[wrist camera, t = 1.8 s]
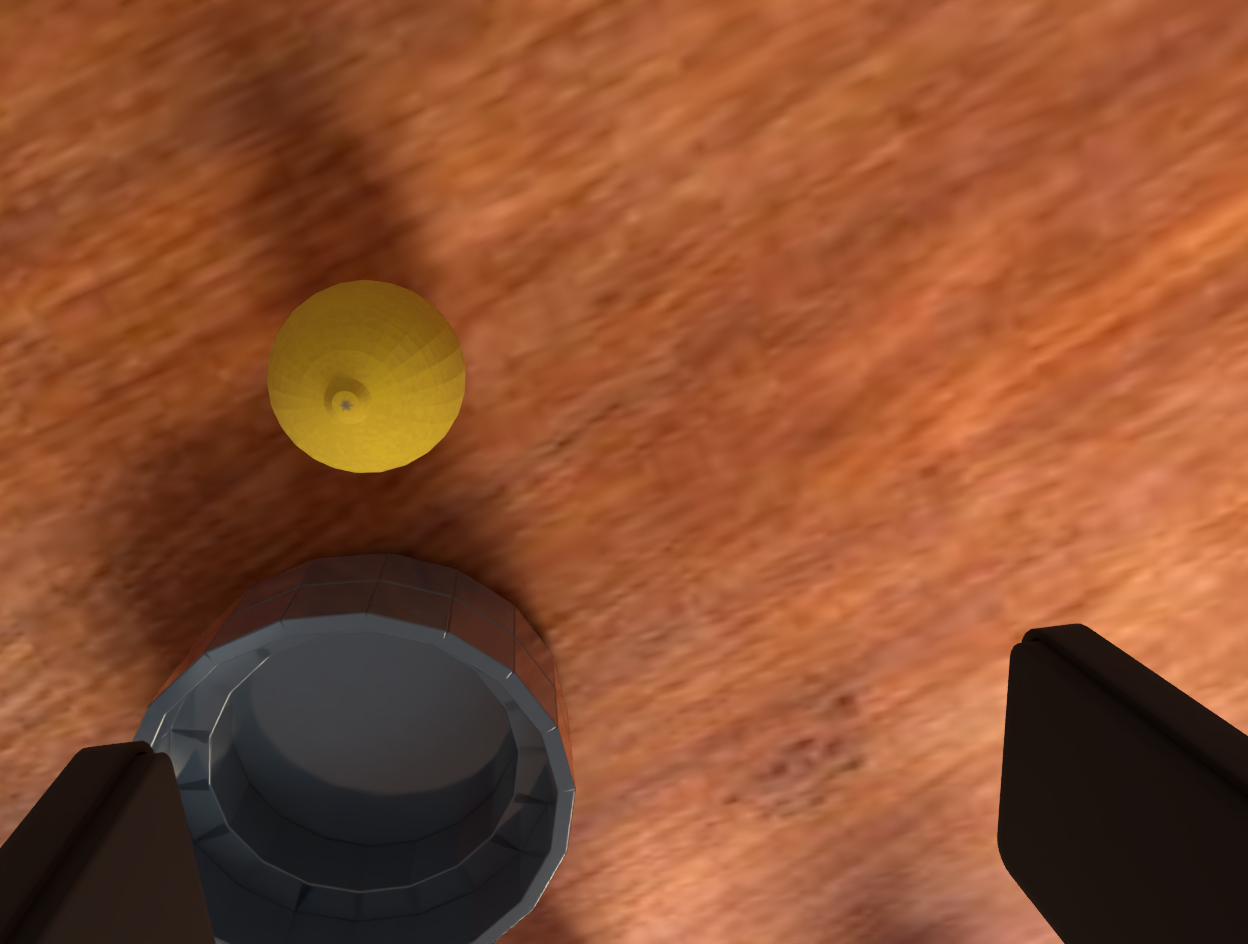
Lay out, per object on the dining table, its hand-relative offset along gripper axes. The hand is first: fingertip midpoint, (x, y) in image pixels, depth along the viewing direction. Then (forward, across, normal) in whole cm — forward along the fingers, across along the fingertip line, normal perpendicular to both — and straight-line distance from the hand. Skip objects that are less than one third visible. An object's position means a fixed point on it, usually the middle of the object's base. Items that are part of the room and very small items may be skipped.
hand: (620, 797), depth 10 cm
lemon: (+22, +5, -2) cm, 23 cm away
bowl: (+22, +7, +12) cm, 26 cm away
